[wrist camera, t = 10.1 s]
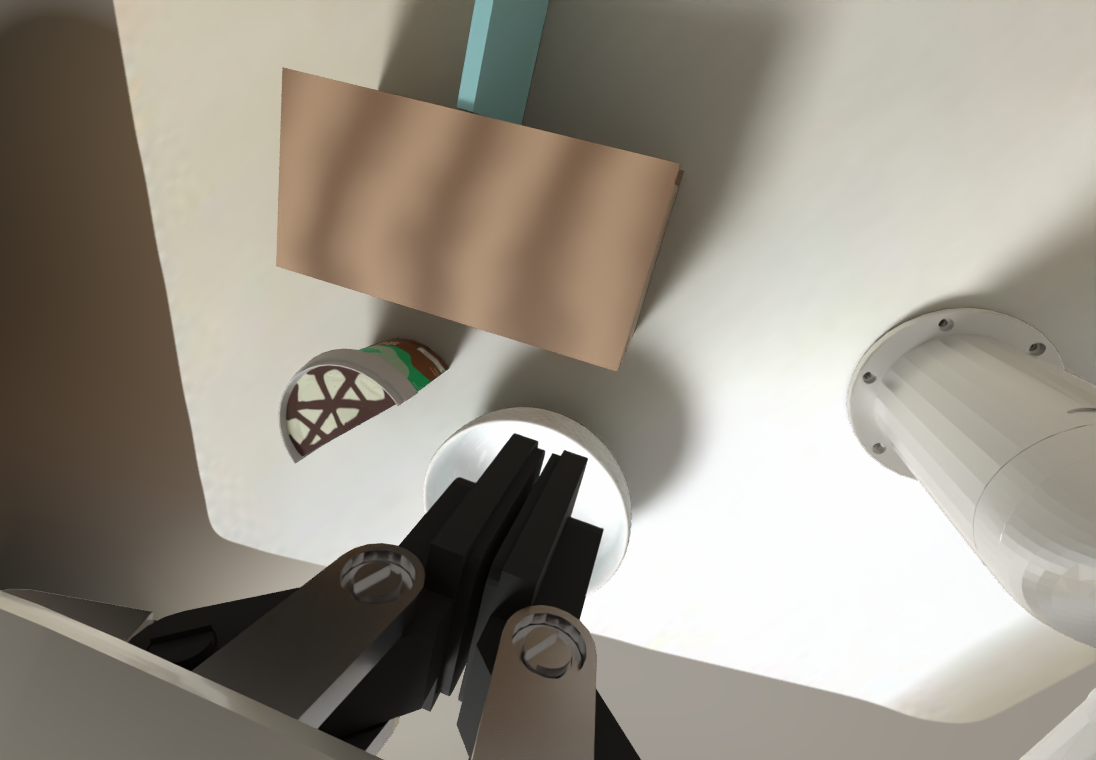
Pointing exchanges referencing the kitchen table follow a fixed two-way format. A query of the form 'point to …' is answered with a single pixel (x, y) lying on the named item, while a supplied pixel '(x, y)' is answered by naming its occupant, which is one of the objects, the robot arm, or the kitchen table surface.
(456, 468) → the cereal bowl
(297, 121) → the cabinet
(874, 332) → the kitchen table surface
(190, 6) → the kitchen table surface
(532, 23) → the door
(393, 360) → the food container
